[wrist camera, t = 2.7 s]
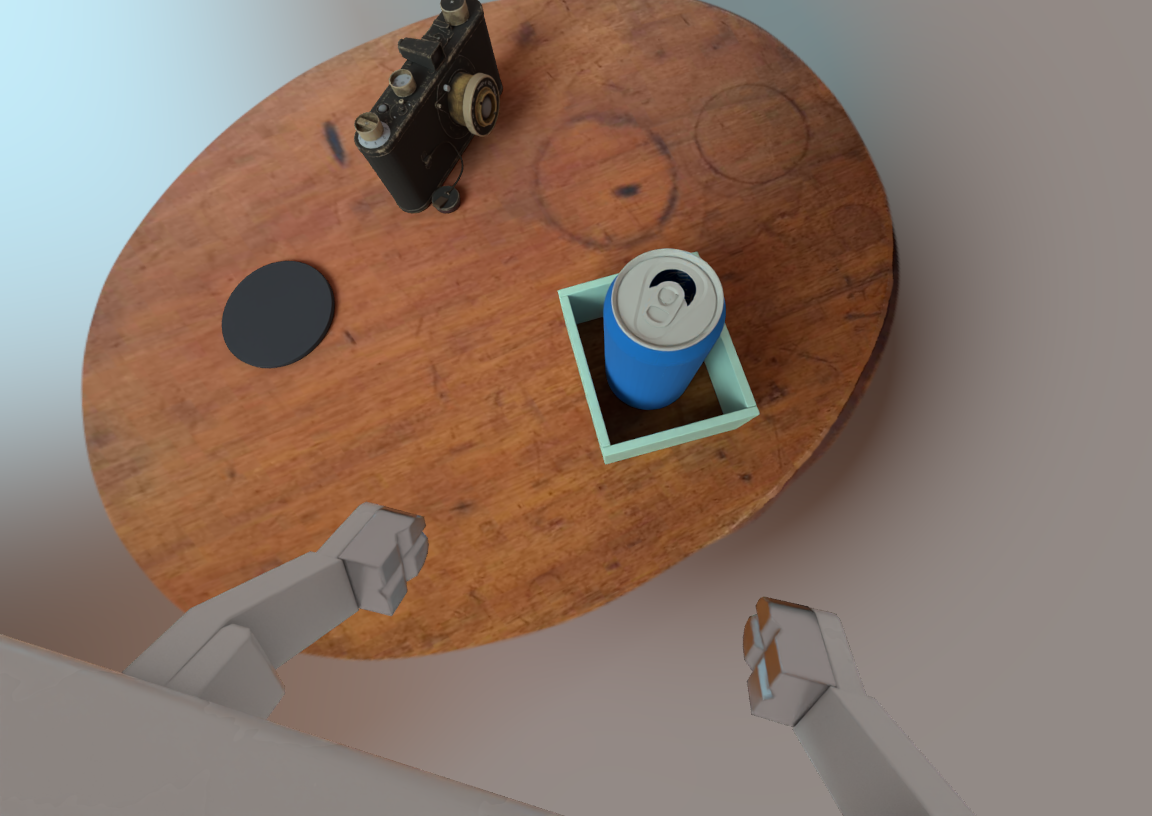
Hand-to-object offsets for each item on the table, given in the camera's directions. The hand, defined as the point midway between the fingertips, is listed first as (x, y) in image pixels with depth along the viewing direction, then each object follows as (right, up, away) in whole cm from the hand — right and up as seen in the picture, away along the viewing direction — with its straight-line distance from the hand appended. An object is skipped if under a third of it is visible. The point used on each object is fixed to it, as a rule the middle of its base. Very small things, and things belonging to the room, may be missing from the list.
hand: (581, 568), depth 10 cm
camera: (-11, +28, +29) cm, 42 cm away
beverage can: (+5, +7, +23) cm, 24 cm away
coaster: (-26, +12, +26) cm, 39 cm away
